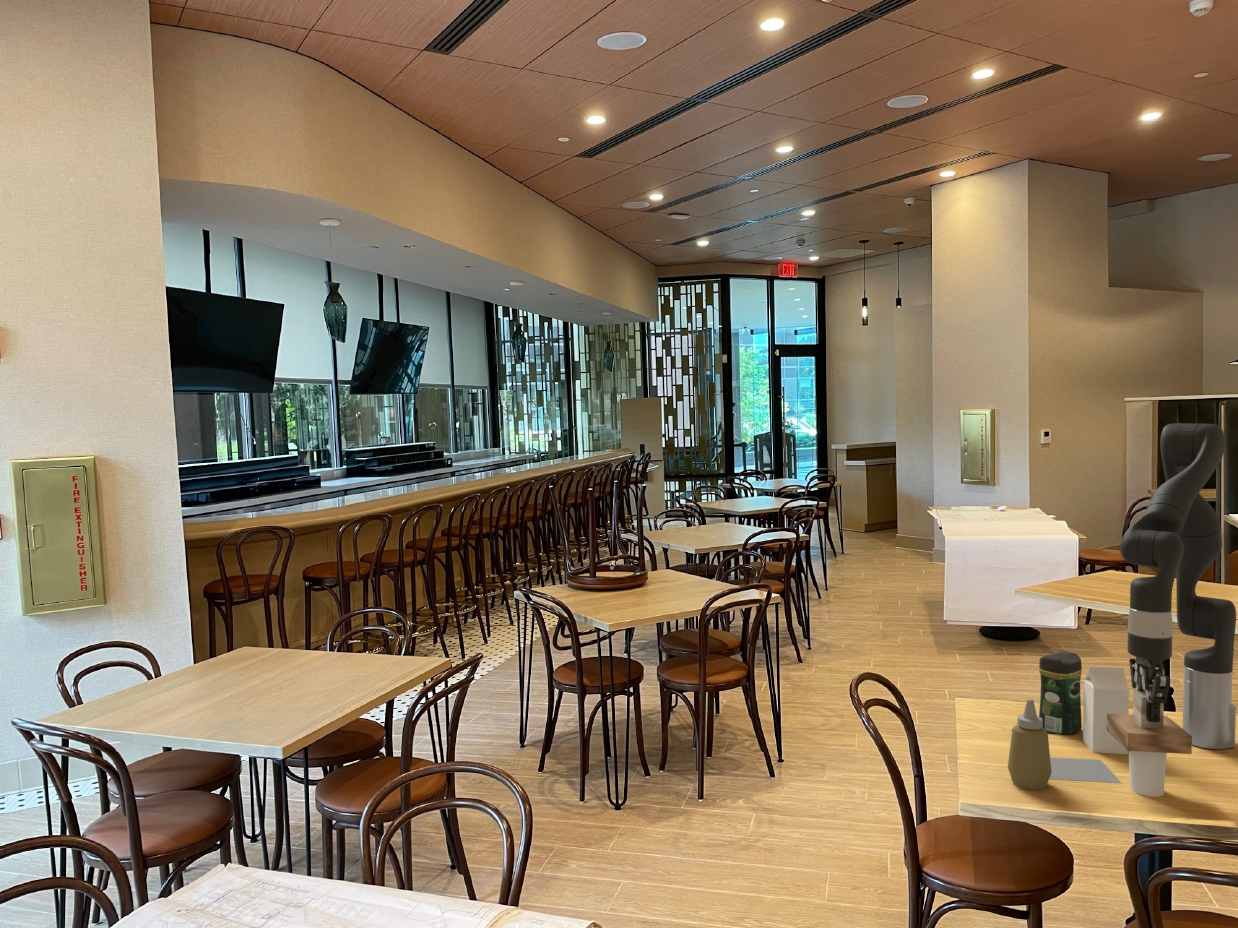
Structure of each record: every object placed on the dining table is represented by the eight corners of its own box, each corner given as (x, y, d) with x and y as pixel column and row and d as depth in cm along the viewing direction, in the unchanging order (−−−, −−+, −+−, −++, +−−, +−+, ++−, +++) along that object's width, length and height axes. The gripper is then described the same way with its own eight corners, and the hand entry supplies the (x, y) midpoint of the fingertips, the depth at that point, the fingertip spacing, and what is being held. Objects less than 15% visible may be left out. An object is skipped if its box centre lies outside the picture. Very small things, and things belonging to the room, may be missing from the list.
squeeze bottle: (1001, 779, 185) (1001, 693, 184) (1040, 778, 185) (1041, 693, 184) (1017, 795, 177) (1018, 706, 176) (1058, 795, 177) (1059, 706, 175)
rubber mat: (1100, 763, 192) (1100, 759, 192) (1121, 786, 180) (1121, 782, 180) (1031, 759, 195) (1031, 756, 195) (1047, 782, 183) (1047, 778, 183)
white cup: (1152, 786, 180) (1153, 738, 180) (1174, 800, 173) (1175, 750, 173) (1120, 787, 180) (1121, 738, 179) (1140, 801, 173) (1141, 751, 173)
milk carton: (1127, 757, 195) (1129, 672, 194) (1092, 755, 197) (1094, 670, 195) (1116, 745, 202) (1118, 662, 201) (1082, 743, 204) (1084, 661, 202)
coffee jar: (1054, 721, 218) (1055, 646, 217) (1086, 730, 212) (1088, 653, 211) (1032, 729, 213) (1033, 652, 212) (1064, 739, 206) (1065, 660, 205)
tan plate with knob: (1166, 732, 181) (1167, 686, 180) (1191, 753, 170) (1192, 704, 169) (1106, 730, 183) (1107, 684, 182) (1127, 750, 172) (1128, 702, 171)
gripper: (1187, 641, 167) (1185, 731, 168) (1155, 623, 181) (1154, 706, 182) (1143, 640, 168) (1141, 729, 169) (1115, 622, 182) (1114, 704, 183)
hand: (1148, 717), depth 176 cm, fingers closed on tan plate with knob, 4 cm apart
